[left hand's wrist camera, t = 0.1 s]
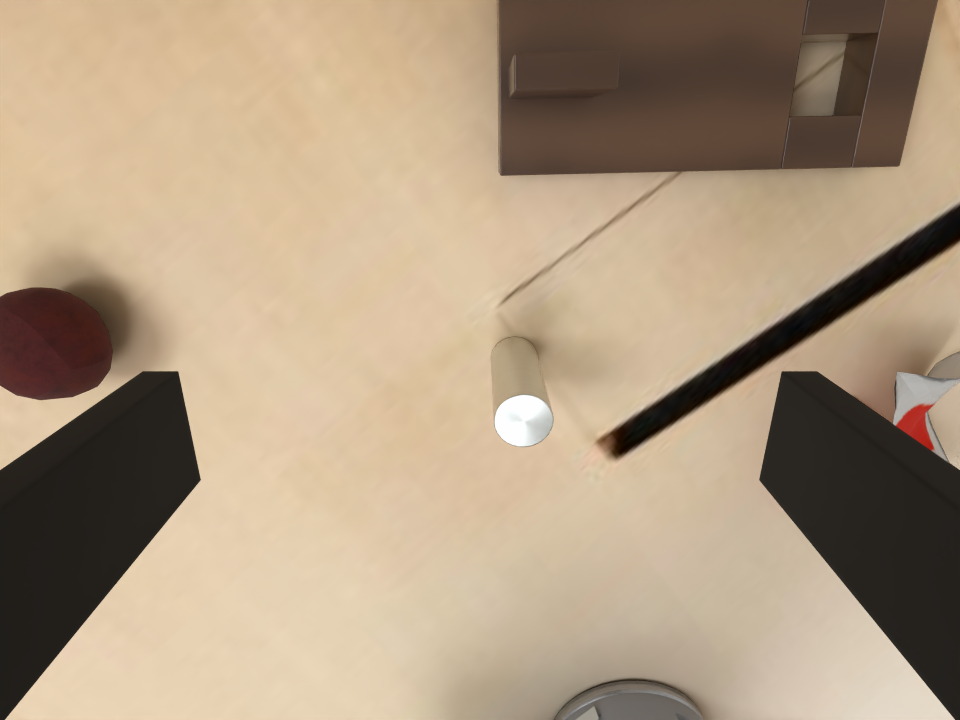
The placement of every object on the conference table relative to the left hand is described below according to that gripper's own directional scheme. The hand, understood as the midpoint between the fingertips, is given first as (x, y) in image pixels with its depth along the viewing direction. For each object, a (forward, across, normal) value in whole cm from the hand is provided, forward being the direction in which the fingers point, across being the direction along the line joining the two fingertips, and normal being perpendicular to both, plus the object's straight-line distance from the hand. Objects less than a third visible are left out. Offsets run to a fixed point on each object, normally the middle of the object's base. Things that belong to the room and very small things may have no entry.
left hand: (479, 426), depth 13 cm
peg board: (+28, -13, -9) cm, 32 cm away
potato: (+28, +29, +7) cm, 40 cm away
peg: (+28, -2, +9) cm, 29 cm away
